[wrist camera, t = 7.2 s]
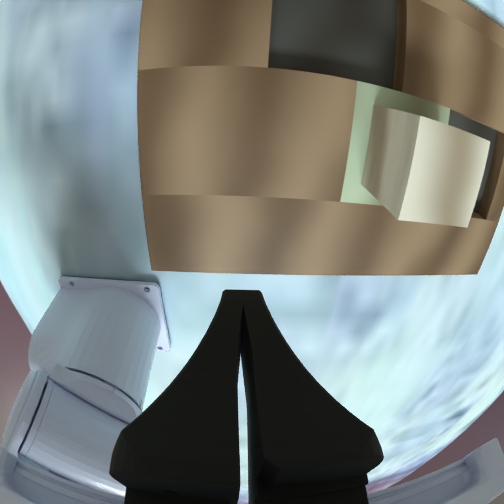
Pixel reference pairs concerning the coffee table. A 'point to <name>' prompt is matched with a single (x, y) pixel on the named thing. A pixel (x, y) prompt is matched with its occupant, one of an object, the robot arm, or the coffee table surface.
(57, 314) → the robot arm
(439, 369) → the coffee table surface
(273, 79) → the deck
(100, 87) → the coffee table surface
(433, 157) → the block
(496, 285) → the coffee table surface
